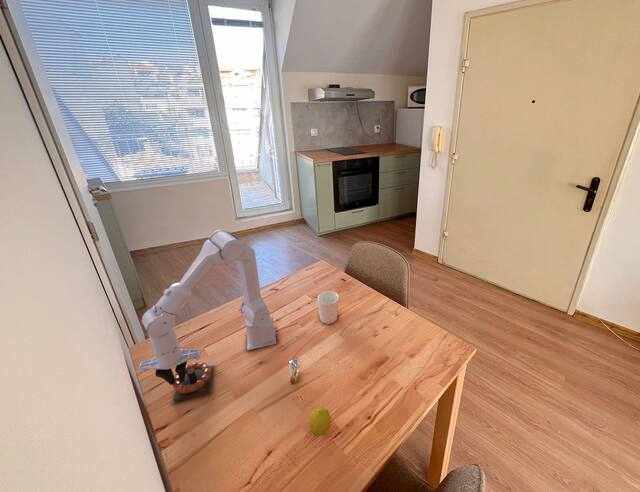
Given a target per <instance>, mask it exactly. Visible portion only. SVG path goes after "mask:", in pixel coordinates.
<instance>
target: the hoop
mask: <svg viewBox="0 0 640 492" xmlns="http://www.w3.org/2000/svg"><path fill="white" fill-rule="evenodd" d="M209 366H210V365H208V364H207V363H204V362H201V361H198V362H193V363H189V364H188V365H187V364H186V368H185V375H186V374H187V371H188V370H189V369H191V368H194V369H195V370H202V372H203V376H202V377H201V378H200V380H199V381H197V382H195V383H194V384H191V385H183V384H182V382H181V381H180V378H179V375H178V374H177V373H176V375H174V382H173V385H172V386H173V389H174V391H175V392H176V391H177V392H180V393H184V394H186V393H190V392H194V391H196V390H198V389H199V388H201V387H202V386H204V384H205V383H206V382H207V380H208V379H209V377H210V371H211V369H210V368H209Z"/></svg>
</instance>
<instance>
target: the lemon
mask: <svg viewBox="0 0 640 492" xmlns="http://www.w3.org/2000/svg"><path fill="white" fill-rule="evenodd" d="M308 424H309V425H308V426H309V429H310V431H311V432H312V435H313V434H314V436H317V437H322V436H324V435H326V434H327V433H328V432H329V430H330V428H331V425H332V417H331V414H330V412H329V410H328V409H327V408H325V407H322V406H320V407H316V408H315V409H313V411H312V412H311V413H310V417H309V421H308Z"/></svg>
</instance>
